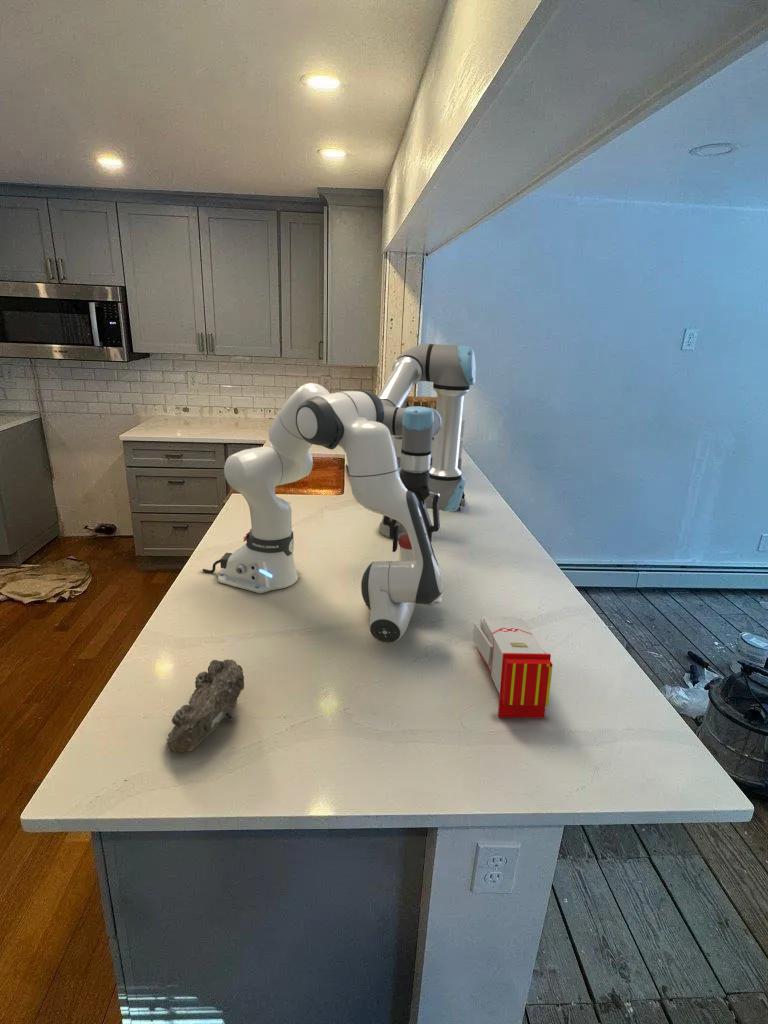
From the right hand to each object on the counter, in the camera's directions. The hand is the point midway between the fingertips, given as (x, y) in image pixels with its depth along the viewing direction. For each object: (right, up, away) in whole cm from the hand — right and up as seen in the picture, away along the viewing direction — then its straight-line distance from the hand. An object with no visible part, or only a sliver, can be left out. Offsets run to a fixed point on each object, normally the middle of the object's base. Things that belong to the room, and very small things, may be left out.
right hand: (409, 551), depth 151 cm
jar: (-1, -13, +5) cm, 14 cm away
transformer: (+10, +29, +124) cm, 128 cm away
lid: (0, +3, -1) cm, 4 cm away
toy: (+20, -25, -27) cm, 42 cm away
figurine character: (+22, +13, +79) cm, 83 cm away
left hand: (0, -7, +3) cm, 8 cm away
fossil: (-40, -29, -43) cm, 65 cm away
